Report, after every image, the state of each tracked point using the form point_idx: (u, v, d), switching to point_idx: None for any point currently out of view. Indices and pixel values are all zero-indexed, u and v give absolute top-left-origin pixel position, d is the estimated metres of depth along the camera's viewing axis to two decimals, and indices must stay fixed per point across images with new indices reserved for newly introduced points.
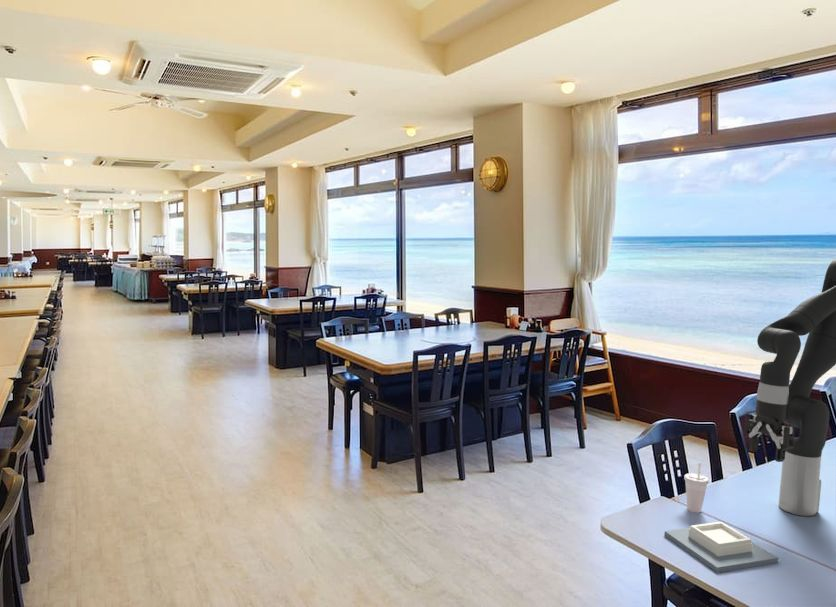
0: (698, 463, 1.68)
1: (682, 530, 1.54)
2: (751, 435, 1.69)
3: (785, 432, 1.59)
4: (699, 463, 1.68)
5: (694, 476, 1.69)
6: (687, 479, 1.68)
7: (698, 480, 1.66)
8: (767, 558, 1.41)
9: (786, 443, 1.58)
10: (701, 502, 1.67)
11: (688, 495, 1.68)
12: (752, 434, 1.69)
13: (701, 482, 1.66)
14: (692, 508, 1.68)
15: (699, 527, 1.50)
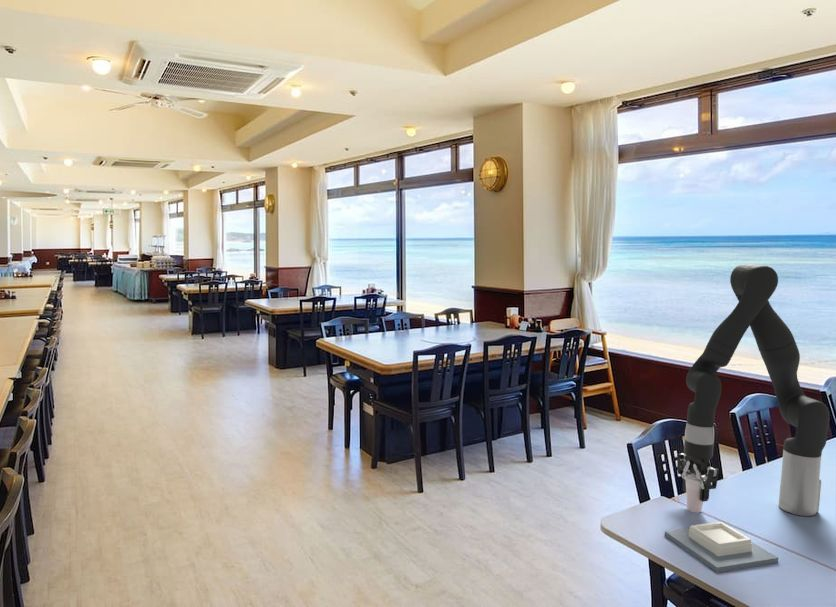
0: None
1: (682, 530, 1.54)
2: (683, 476, 1.72)
3: (709, 474, 1.62)
4: None
5: (694, 476, 1.69)
6: (687, 479, 1.68)
7: (698, 480, 1.66)
8: (767, 558, 1.41)
9: (709, 485, 1.62)
10: (701, 502, 1.67)
11: (688, 495, 1.68)
12: (684, 475, 1.71)
13: None
14: (692, 508, 1.68)
15: (699, 527, 1.50)
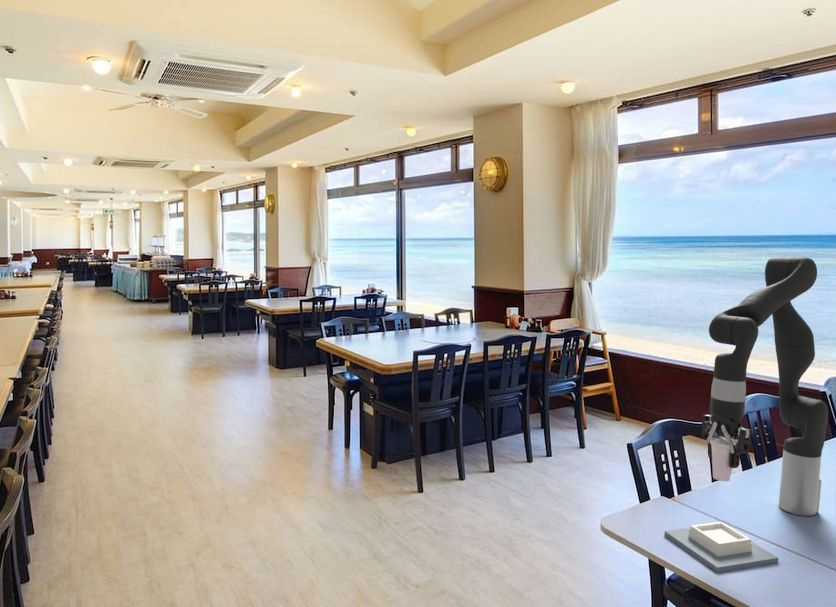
0: None
1: (682, 530, 1.54)
2: (709, 440, 1.49)
3: (740, 436, 1.40)
4: None
5: (722, 440, 1.46)
6: (714, 443, 1.45)
7: (727, 444, 1.44)
8: (767, 558, 1.41)
9: (740, 448, 1.40)
10: (730, 469, 1.45)
11: (715, 461, 1.46)
12: None
13: None
14: (719, 476, 1.45)
15: (699, 527, 1.50)
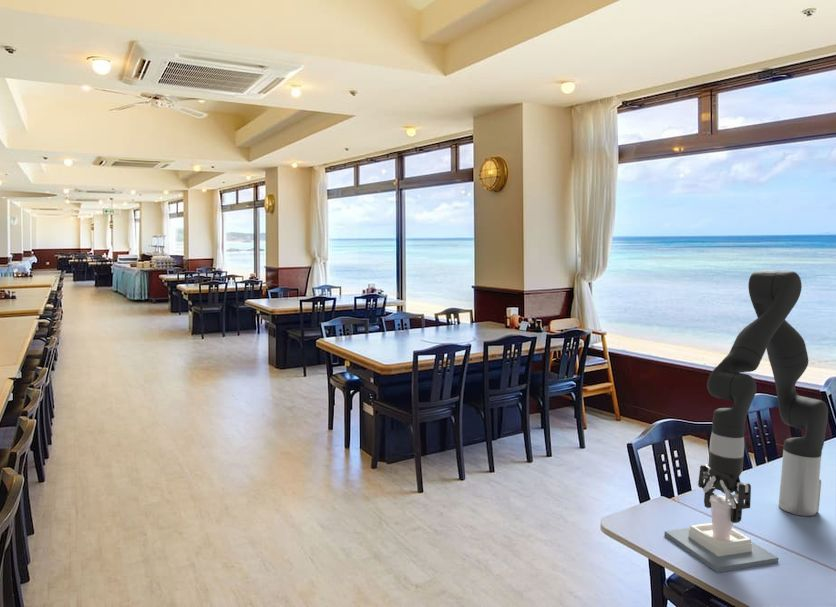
0: None
1: (682, 530, 1.54)
2: (705, 490, 1.50)
3: (740, 490, 1.40)
4: None
5: (721, 498, 1.46)
6: (713, 502, 1.45)
7: (726, 503, 1.44)
8: (767, 558, 1.41)
9: (741, 503, 1.39)
10: (730, 528, 1.45)
11: (714, 520, 1.46)
12: (706, 489, 1.50)
13: (730, 506, 1.43)
14: (718, 535, 1.45)
15: (699, 527, 1.50)
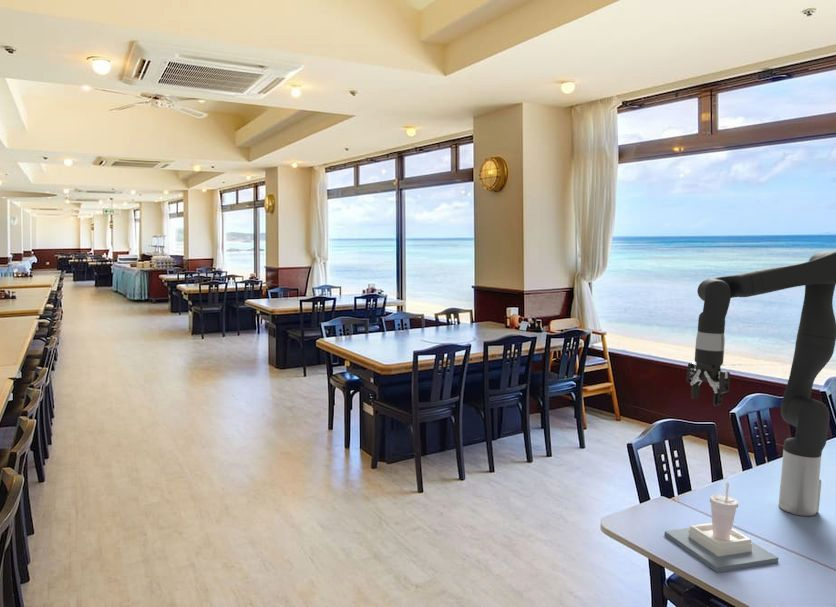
0: (726, 483, 1.46)
1: (682, 530, 1.54)
2: (692, 383, 1.76)
3: (721, 377, 1.66)
4: (727, 483, 1.45)
5: (721, 498, 1.46)
6: (713, 502, 1.45)
7: (726, 503, 1.44)
8: (767, 558, 1.41)
9: (722, 387, 1.66)
10: (730, 528, 1.45)
11: (714, 520, 1.46)
12: (693, 382, 1.76)
13: (730, 506, 1.43)
14: (718, 535, 1.45)
15: (699, 527, 1.50)
